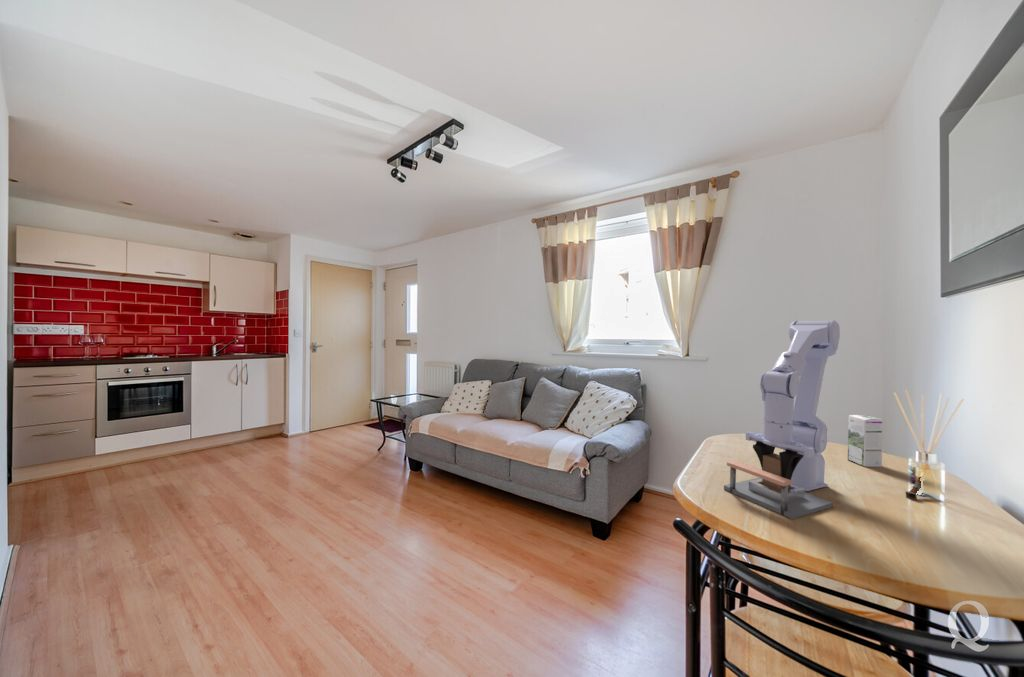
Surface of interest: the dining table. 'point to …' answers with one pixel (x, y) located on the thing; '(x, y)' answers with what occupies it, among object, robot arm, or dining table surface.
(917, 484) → the brown figurine
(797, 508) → the socket board
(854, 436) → the syrup box
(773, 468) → the walnut peg
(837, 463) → the dining table surface
